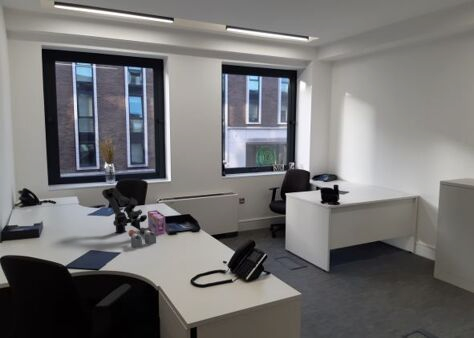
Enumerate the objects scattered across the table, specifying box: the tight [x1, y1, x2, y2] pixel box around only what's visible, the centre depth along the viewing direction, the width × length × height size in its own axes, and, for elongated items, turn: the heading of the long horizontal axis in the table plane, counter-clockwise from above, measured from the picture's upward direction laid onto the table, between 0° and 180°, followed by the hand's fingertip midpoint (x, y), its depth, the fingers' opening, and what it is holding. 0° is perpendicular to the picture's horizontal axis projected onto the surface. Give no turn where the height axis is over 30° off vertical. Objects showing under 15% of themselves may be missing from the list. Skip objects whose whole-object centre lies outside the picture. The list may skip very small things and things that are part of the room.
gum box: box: [147, 209, 166, 235], centre depth 291 cm, size 24×8×14 cm, turn 29°
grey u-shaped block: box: [144, 230, 157, 246], centre depth 261 cm, size 6×6×8 cm
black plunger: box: [138, 226, 151, 236], centre depth 264 cm, size 9×5×5 cm, turn 49°
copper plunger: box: [127, 229, 138, 238], centre depth 258 cm, size 9×5×5 cm, turn 34°
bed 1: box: [130, 233, 143, 249], centre depth 254 cm, size 6×6×8 cm
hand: (139, 229), depth 269 cm, fingers closed
